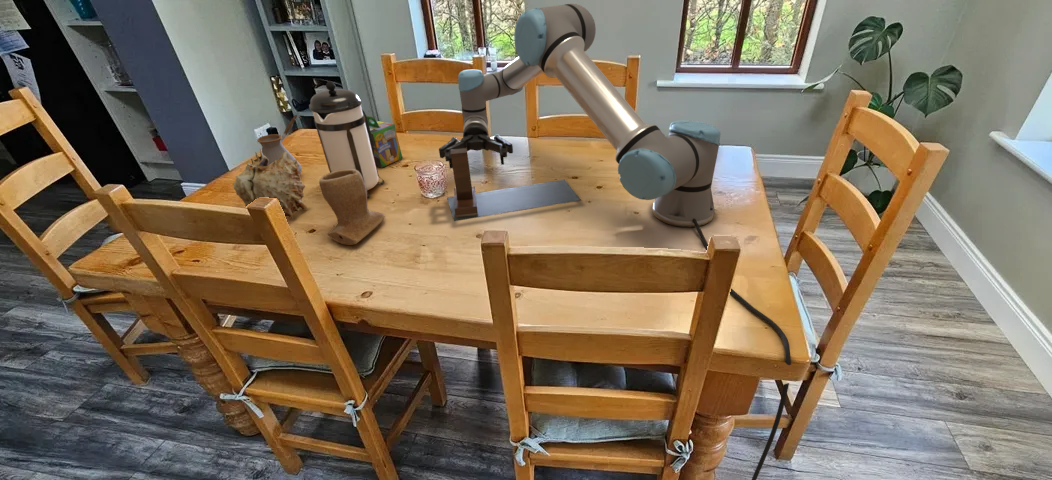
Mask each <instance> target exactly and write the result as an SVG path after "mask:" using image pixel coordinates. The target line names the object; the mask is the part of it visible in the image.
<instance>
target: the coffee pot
mask: <svg viewBox="0 0 1052 480" xmlns="http://www.w3.org/2000/svg"><path fill="white" fill-rule="evenodd" d="M298 118H300V119H298ZM301 120H302V117H301V116H300V115H298V114H294V116H293V117H292V118H290V122H289V123H287V125H286V128H285V129H284V132H283V133H282V135H281V134H277V133H276V134H275V133H274V134H272V133H271V134H267V135H263V136H260V137H258V138H257V139H256V141H257V143H259V144H260V146H261V150H262V153H263V156H266V157H267V158H268V160H269V164H271V163H272V162H274V161H275V160H279V159H280V158H281V156H282V154H283V153H284V152H288V153H289V157H290V159H291V160H292V161H294V160H297V159H296V158H295V157H294V155H293V154H292V153H291V152H290V151H289V150H288V149H287V148H286V147H285V146H284V144H283V142H284V140H285V138H286V137H287V136H288V134H289V132H290V131H291V129H292V128H293V126H294V123H296V121H301ZM297 163H299V164H300V165H299V168H298V170H299V174H300V175H301V173H302V170H303V167H302V164H301V163H300V162H299V161H298V160H297ZM269 164H268V165H269Z"/></svg>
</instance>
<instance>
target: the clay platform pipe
mask: <svg viewBox="0 0 1052 480" xmlns="http://www.w3.org/2000/svg"><path fill="white" fill-rule="evenodd" d="M318 184H319V188H320V191H321V195H322V197H323V198H324V200H325V201H326V203H327V204H328V205H329V207H330V209H331V210H332V211H333V213H334V215H335V217H336V219H337V220H336V221H337V223H336V225H335V226H334V227H333V228H332V229H331V230H330V231H329V232H328V233H327V237H329V238H330V239H333V241H336V242H337V243H338V244H341V245H345V246H346V245H347V246H352V245H356V244H358V243H359V242H360V241H362V240H363V239H364V238H366V237H367V236H368V235H369V234H370V233H371V232H372V231H373V230H375V229H376V228H377V227H378V226H379V225H380V224H381V223H382V222H383V221H384V219H385V217H386V215H385V213H383V212H379V211H373V210H369V207H368V198H367V191H368V190H366V185H365V182H364V180H363V177H362V175H361V173H360V172H359V171H357V170H355V169H345V170H339V171H335V172H331V173H330V172H328V173H326V174H325V175H323V176H321V177H320V178H319V181H318Z"/></svg>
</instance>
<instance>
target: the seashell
mask: <svg viewBox="0 0 1052 480" xmlns="http://www.w3.org/2000/svg"><path fill="white" fill-rule="evenodd" d="M259 153H260V156H259V155H258V153H257V152H256V151H255V159H253V158H250V161H251V162H250V161H248V160H247V161H246V166H245V169H244V170H243V171H242V172H241V173H240V174H238V175H235V178H236V179H235V181H234V182H233V183H232V184H233V185H232V186H233V189H234V191H235V194H236V196H238V197H239V198H240V200H242V201H243V203H244V208H245V207H246V206H247V205H248V204H250V203H251V202H253V201H254V200H255V199H257V198H259V197H269V198H277V199H278V200H279V202H280V205H281V207H282V209H283V211H284V213H285V216H286V217H285V218H290V219H292V220H293V219H294V217H293V215H294V213H295V212H298V213H299V209H302V210H303V211H306V210H307V209H308V206H307V204H305V202H303V198H304V197H305V194H304V189H305V188H306V185H305V184H304V183H303V181H302V179H301V178H302V176H301V173H300V174H299V170H298V168H299V165H301V163H300V162H299V163H300V164H299V163H297V161H298V160H297V159H296V160H294V161H292V160H291V159H290V157H289V153H288V152H284V153H283V154H282V156H281V158H280V159H279V160H275V161H274V162H272V163H271V164H269V160H268V158H267V157H266V156H263V153H262V148H259ZM268 164H269V165H268Z"/></svg>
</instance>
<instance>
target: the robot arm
mask: <svg viewBox="0 0 1052 480" xmlns="http://www.w3.org/2000/svg"><path fill="white" fill-rule="evenodd" d="M515 23H516V24H515V27H514V33H513V34H514V36H513V37H514V38H513V39H514V47H515V51H516V54H517V57H516V58H515V59H514V60H512V61H511V62H510V63H508V64H507V65H505V66H503V68H502V69H500V70H498V71H495V72H489V73H485V74H483V71H482V70H480V69H475V68H474V69H464V70H462V71H460V72H459V73H458V75H457V76H458V79H457V82H458V83H457V84H458V91H459V96H460V104H461V114H462V115H461V116H462V122H463V123H462V125H463V129H462V133H463V134H462V138H461V139H458V138H457V137H456V136H453V137H451V138H450V140H449V141H447V142H446V143H444V145H442V146H441V147H439V148H438V153H439V158H440V159H445V162H448V165H449V169H453V166H452V159H451V149H463V148H467V152H469V151H477V152H478V151H481V150H484V151H492V152H494V153H498V154H499V157H500V166H501V165H505V159H504V158H507V157H508V154H513V153H514V147H513V143H512V142H509V140H506V139H504V138H503V137H501V135H500V134H494V136H493V137H490V136H489V127H488V126H489V121H488V113H487V102H489V101H492V100H496V99H499V98H502V97H508V96H512V95H515V94H518V93H520V92H522V90H523V88H524V87H525V86H526V85H527V84H529V83H530V82H531V81H533V80H535V79H536V78H538V77H539V76H541V75H543V74H544V75H545V76H546V77H547V78H550V79H557V80H558V82H560V84H561V85H562V87H564V89H565V90H566V91H567V92H568V93H569V95H570V96H571V97H572V98H573V99H574V100H575V102H576V103H577V104H578V106H579V107H580V108H581V109H582V110H583V112H584V113H585V115H587V117H588V118H589V119H590V120H591V122H592V123H593V124H594V126H596V128H597V129H598V130H599V131H600V132H601V134H602V135H603V136H604V137H605V139H606V140H607V141H608V143H609V144H610V145H611V146H612V147H613V148H614V150H615V151H616V152H615V161H616V163H617V164H618V165H617V174H618V175H619V178H618V179H619V182H620V184H621V185H622V187H623V189H625V191H626V192H627V193H628V194H630V195H631V196H632V197H634V198H635V199H639V200H642V201H643V200H645V201H652V200H654V201H653V205H652V214H653V215H654V217H655V218H656V219H657V220H659V221H661V222H663V223H665V224H667V225H670V226H674V227H681V228H695V229H696V231H697V233H698V235H699V237H700V239H701V242H702V243H703V246H704V248H705V249H706V250H707V246H708V245H709V243H708V241H707V239H706V237H705V236H704V233H703V231H702V228H701V226H704V225H707V224H708V223H710V222H711V221H712V220H713V218H714V214H715V203H714V197H713V191H712V185H713V179H714V174H715V170H716V163H717V158H718V153H719V149H720V146H721V141H720V140H721V131H720V129H719V128H718V127H717V126H715V125H712V124H710V123H707V122H702V121H696V120H685V119H684V120H682V119H681V120H675V121H673V122H671V123H670V125H669V128H668V135H665V134H664V132H663V131H662V130H661V129H660V128H659V126H658V125H657V124H655V123H654V124H647V123H646V122H645V121H644V120H643V119H642V117H641V116H640V115H639V114H638V112H636V111H635V109H634V108H633V107H632V106H631V105H630V104H629V102H628V101H627V100H626V99H625V97H624V96H623V95H622V94H621V93H620V92H619V90H618V89H617V88H616V87H615V86H614V85H613V83H612V82H611V81H610V80H609V78H607V76H606V75H605V74H604V73H603V71H602V70H601V69H600V68H599V66H598V65H597V64H596V63H595V62H594V60H592V59H591V57H590V56H589V55H588V53H586V52H587V51H588V50H589V49H590V47H591V46H592V45H593V43H594V41H595V37H596V30H597V29H596V23H595V19H594V18H593V15H592V14H591V12H590V11H589V10H588V9H586V7H584V6H582V5H581V4H577V3H565V4H559V5H552V6H544V7H534V8H533V9H529V10H526V11H524V12H522V13H521V14H520V16H519V17H518V19H517V21H516V22H515ZM729 293H730V294H731V296H733V298H735V299H736V300H737V301H739V302H740V303H741V304H742V305H743V306H744V307H746V308H747V309H748V310H749V311H751V312H752V313H753V314H755V315H756V317H757V316H758V317H759V318H760V319H762V320H763V321H764V322H766V323H767V324H769V326H770V327H772V328H773V329H774V330H775V331H776V333H777V334H778V335H779V336H780V339H781V340H782V343H783V347H784V348H783V349H784V358H785V364H786V365H787V366H790V365H792V357H791V348H790V343H789V340H788V337H787V335H786V334H785V332H784V331H783V330H782V329H781V328H780V326H779V325H778V324H777V323H775V321H773V320H772V319H771V318H770V317H768V316H766V315H765V314H764V313H762V312H761V311H760V310H758V309H757V308H755V307H754V306H753V305H751V304H750V303H749V302H748V301H747V300H746V299H745V298H744V297H742V296H741V295H740V294H739V293H737V292H736V291H735V290H734V289H733V288H732V289H731V292H729ZM789 386H790V382H787V383H783V385H782V390H781V396H780V399H779V402H778V403H779V404H778V407H777V411H776V415H775V419H774V421H773V424H772V427H771V431H770V433H769V436H768V438H767V441H766V444H765V446H764V449H763V450H762V453H761V456H760V459H759V460H758V463H757V466H756V467H755V470H754V473H753V475H752V478H751V480H757V479H758V477H759V474H760V473H761V469H762V467H763V465H764V463H765V460H766V458H767V456H768V453H769V452H770V449H771V446H772V444H773V441H774V438H775V436H776V434H777V431H778V427H779V424H780V422H781V418H782V415H783V412H784V409H785V408H784V407H785V403H786V399H787V396H788V391H789Z"/></svg>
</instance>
